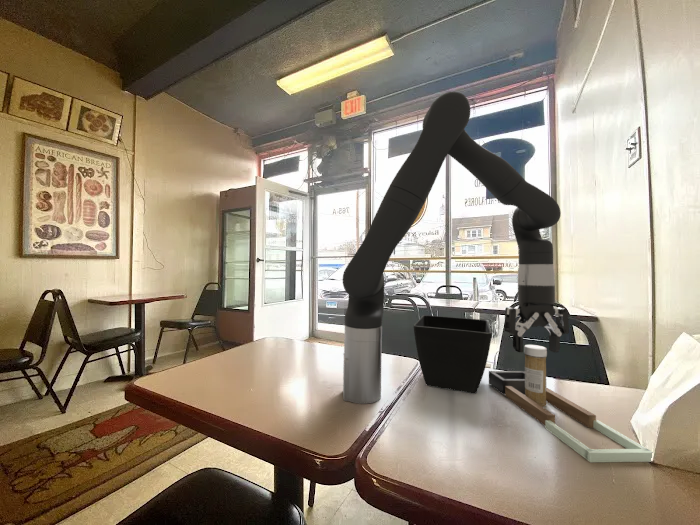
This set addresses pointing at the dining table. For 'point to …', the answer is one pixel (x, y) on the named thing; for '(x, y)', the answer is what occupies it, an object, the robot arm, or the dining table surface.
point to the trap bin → (507, 380)
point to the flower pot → (452, 351)
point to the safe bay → (630, 454)
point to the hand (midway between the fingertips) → (536, 351)
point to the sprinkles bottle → (535, 373)
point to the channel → (553, 399)
